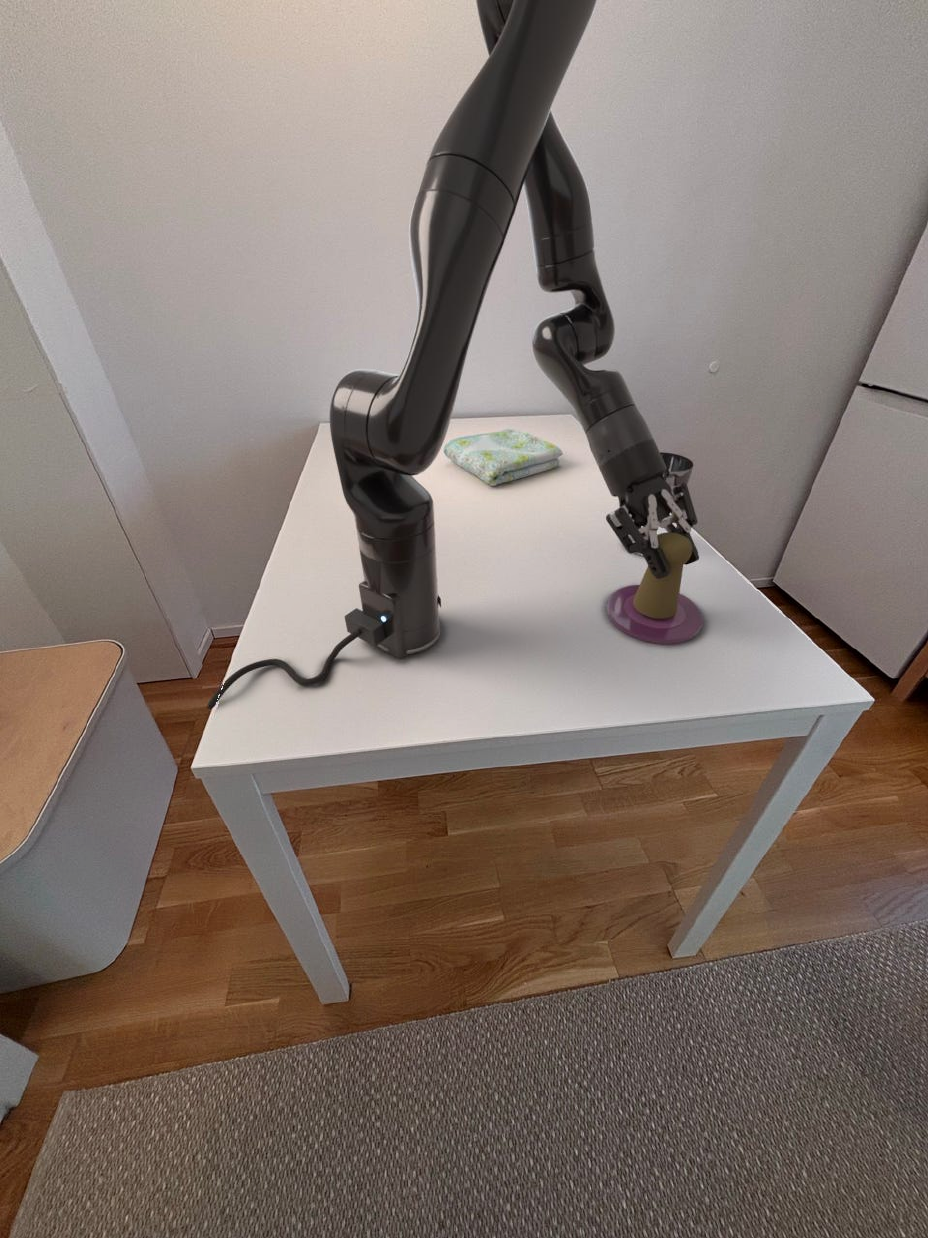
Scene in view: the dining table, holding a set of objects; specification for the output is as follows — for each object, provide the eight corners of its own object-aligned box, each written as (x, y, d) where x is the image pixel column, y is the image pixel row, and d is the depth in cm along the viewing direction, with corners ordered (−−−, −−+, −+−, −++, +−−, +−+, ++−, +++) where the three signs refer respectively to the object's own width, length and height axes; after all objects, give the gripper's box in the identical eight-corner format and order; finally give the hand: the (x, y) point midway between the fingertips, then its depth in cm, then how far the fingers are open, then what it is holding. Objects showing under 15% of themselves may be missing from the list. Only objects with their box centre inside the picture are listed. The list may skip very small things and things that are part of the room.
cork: (679, 621, 71) (702, 552, 64) (633, 615, 72) (651, 547, 65) (674, 595, 75) (695, 528, 68) (631, 590, 76) (648, 524, 69)
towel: (564, 466, 117) (567, 444, 114) (488, 489, 107) (489, 466, 104) (514, 443, 129) (515, 422, 125) (442, 462, 119) (441, 440, 116)
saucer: (683, 657, 67) (685, 652, 66) (591, 620, 73) (592, 615, 73) (712, 608, 75) (714, 603, 75) (627, 579, 81) (629, 574, 81)
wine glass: (662, 562, 85) (686, 475, 76) (615, 549, 88) (633, 464, 79) (675, 542, 90) (698, 458, 81) (630, 530, 94) (648, 448, 84)
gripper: (605, 450, 61) (665, 580, 61) (681, 426, 68) (735, 543, 68) (568, 478, 68) (622, 595, 68) (640, 453, 74) (689, 560, 74)
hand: (678, 568), depth 68 cm, fingers closed on cork, 5 cm apart
